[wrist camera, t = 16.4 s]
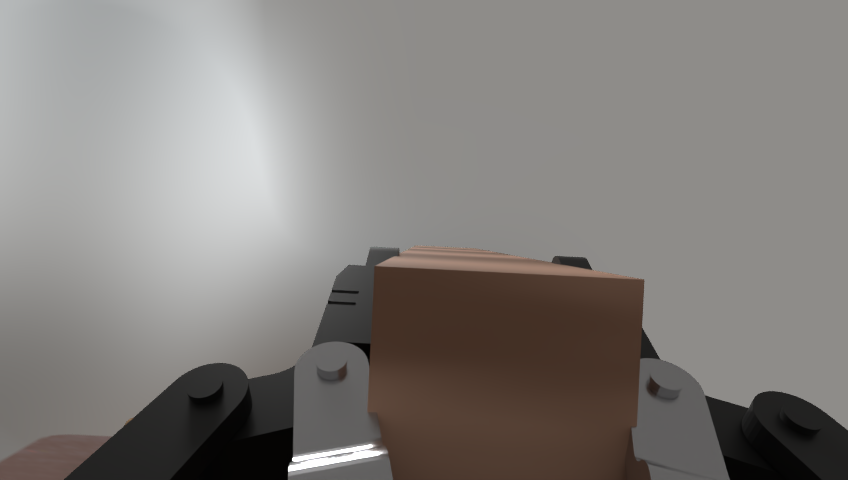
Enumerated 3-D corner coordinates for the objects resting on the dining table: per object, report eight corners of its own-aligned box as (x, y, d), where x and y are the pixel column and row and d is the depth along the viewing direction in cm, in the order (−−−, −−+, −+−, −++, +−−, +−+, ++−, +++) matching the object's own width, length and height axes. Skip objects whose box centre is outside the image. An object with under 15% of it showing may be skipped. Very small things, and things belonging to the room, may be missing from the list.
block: (630, 549, 7) (644, 279, 7) (360, 534, 7) (374, 266, 7) (472, 308, 31) (475, 248, 31) (412, 305, 31) (415, 245, 31)
